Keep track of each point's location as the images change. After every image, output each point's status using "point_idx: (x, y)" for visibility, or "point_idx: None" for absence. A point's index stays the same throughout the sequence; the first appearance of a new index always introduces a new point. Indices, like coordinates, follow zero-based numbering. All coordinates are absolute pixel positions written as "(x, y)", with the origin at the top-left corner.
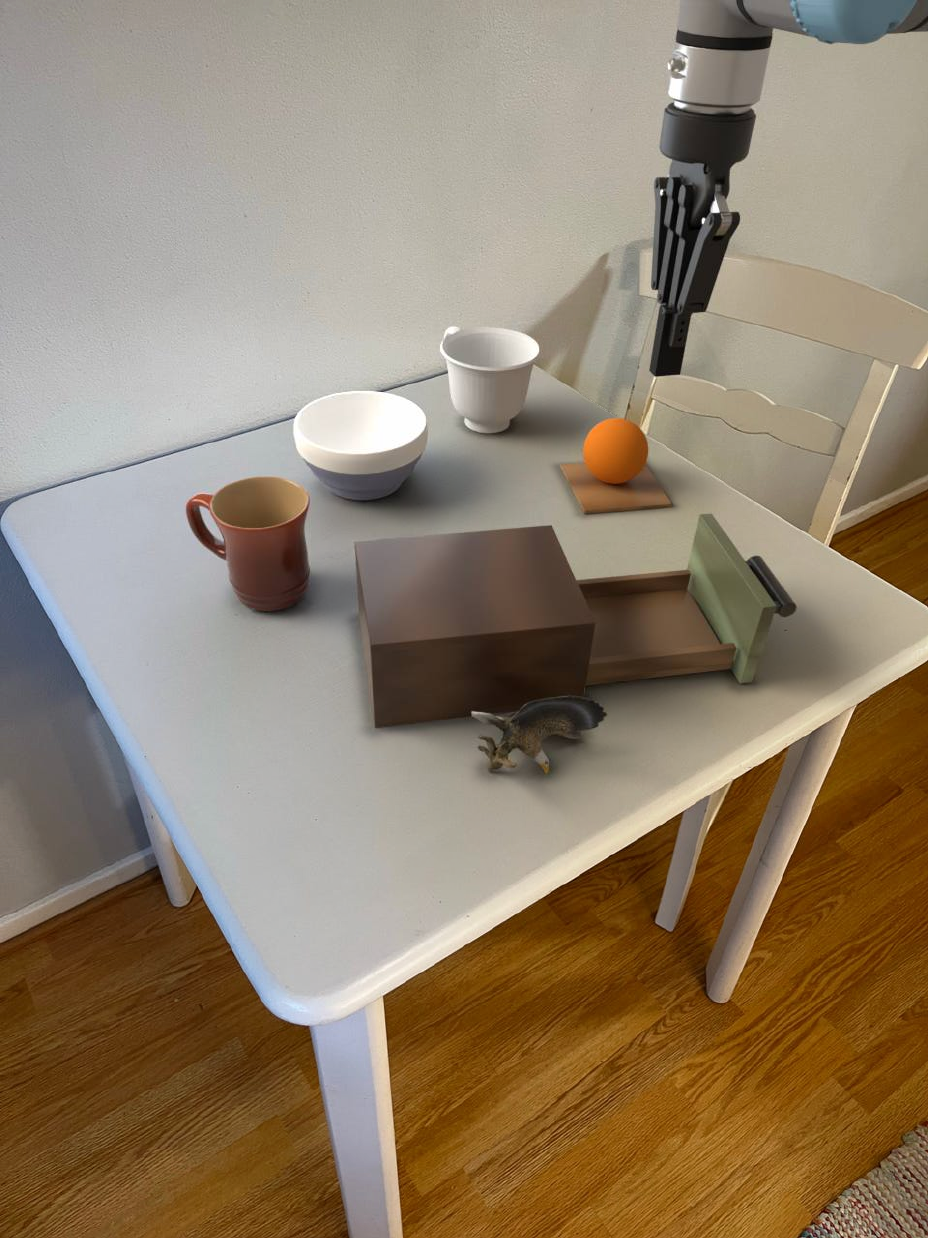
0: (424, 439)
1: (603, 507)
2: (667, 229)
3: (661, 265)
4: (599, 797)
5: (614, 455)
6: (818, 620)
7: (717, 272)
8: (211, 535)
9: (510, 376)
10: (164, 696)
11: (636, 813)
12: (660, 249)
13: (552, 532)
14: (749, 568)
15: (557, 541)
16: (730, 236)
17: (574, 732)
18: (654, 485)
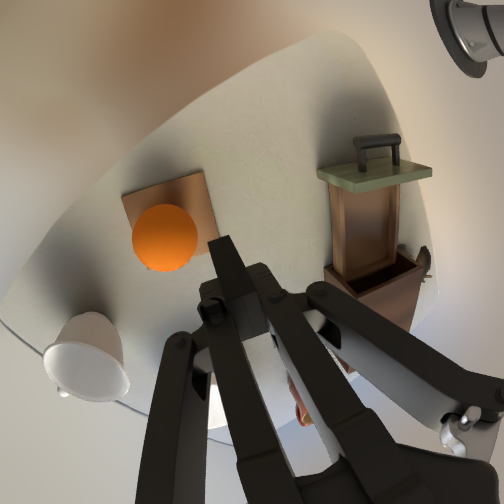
0: (213, 379)
1: (215, 232)
2: (198, 465)
3: (204, 398)
4: (422, 236)
5: (196, 245)
6: (346, 92)
7: (397, 328)
8: (298, 408)
9: (113, 354)
10: (350, 374)
11: (429, 223)
12: (205, 430)
13: (363, 297)
14: (408, 173)
15: (371, 293)
16: (472, 374)
17: (402, 247)
18: (171, 186)
